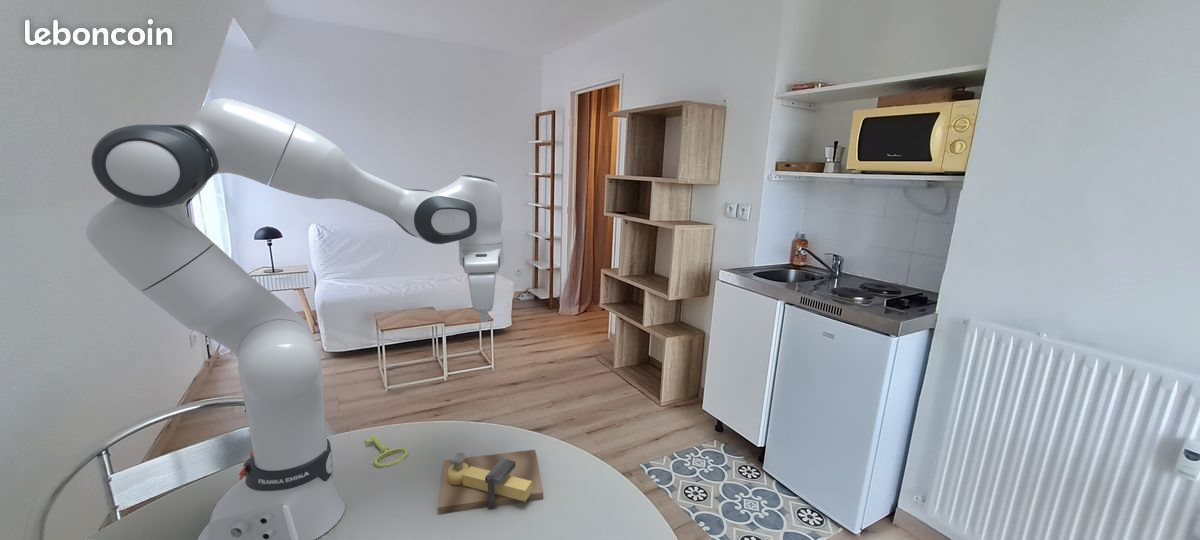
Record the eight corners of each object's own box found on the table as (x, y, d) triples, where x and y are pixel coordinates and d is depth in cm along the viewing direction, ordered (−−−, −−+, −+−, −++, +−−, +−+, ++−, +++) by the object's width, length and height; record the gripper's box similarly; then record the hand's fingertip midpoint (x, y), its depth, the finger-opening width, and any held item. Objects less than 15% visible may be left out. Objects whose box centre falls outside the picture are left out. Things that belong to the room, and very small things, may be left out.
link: (444, 482, 96) (444, 471, 96) (456, 470, 100) (455, 460, 99) (524, 503, 91) (523, 492, 90) (533, 490, 94) (533, 479, 94)
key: (374, 441, 113) (373, 433, 113) (412, 455, 108) (412, 447, 108) (347, 458, 107) (346, 449, 106) (387, 473, 102) (386, 464, 102)
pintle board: (437, 519, 88) (435, 487, 87) (444, 466, 104) (442, 438, 103) (544, 503, 93) (543, 473, 92) (535, 455, 109) (535, 428, 107)
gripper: (467, 247, 106) (469, 306, 109) (463, 266, 87) (466, 337, 90) (496, 247, 108) (497, 305, 110) (498, 265, 88) (500, 335, 91)
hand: (483, 319), depth 100 cm, fingers closed
